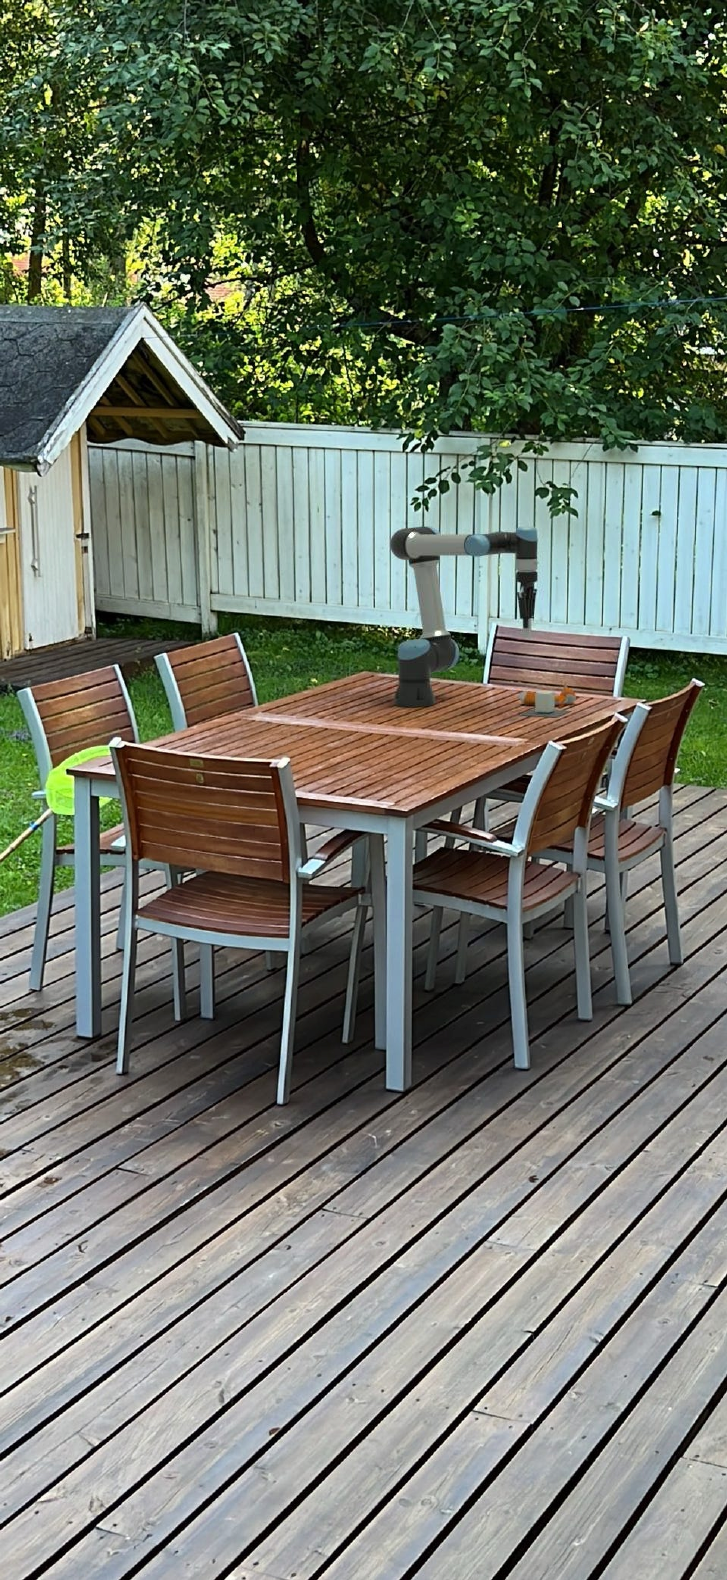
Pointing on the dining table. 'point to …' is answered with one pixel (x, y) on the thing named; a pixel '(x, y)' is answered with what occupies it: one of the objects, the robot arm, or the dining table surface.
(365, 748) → the dining table surface
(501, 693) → the dining table surface
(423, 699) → the robot arm
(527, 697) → the toy
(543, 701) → the light grey block
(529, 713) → the mat
